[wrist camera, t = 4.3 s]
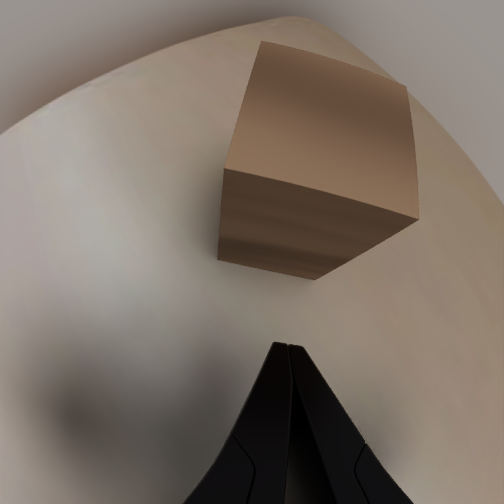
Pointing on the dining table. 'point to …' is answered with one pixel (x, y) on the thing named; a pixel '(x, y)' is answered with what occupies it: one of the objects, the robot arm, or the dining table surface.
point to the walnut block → (316, 165)
